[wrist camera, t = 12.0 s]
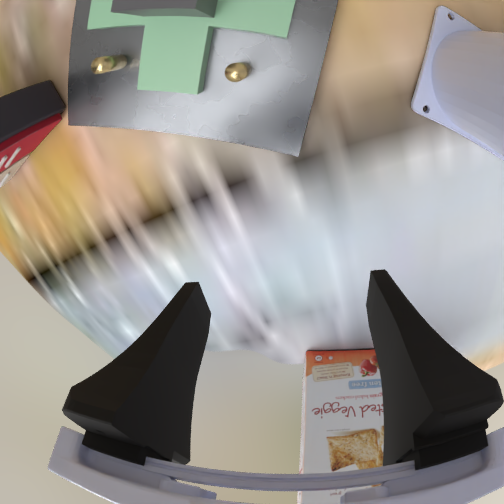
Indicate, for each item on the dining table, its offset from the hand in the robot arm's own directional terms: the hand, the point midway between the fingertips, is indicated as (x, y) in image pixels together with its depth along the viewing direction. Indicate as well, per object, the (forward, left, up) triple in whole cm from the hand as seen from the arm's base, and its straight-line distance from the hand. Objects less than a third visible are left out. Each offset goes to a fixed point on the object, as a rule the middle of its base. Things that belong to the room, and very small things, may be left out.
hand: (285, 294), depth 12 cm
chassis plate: (+8, -13, -9) cm, 18 cm away
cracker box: (-14, +18, -10) cm, 25 cm away
